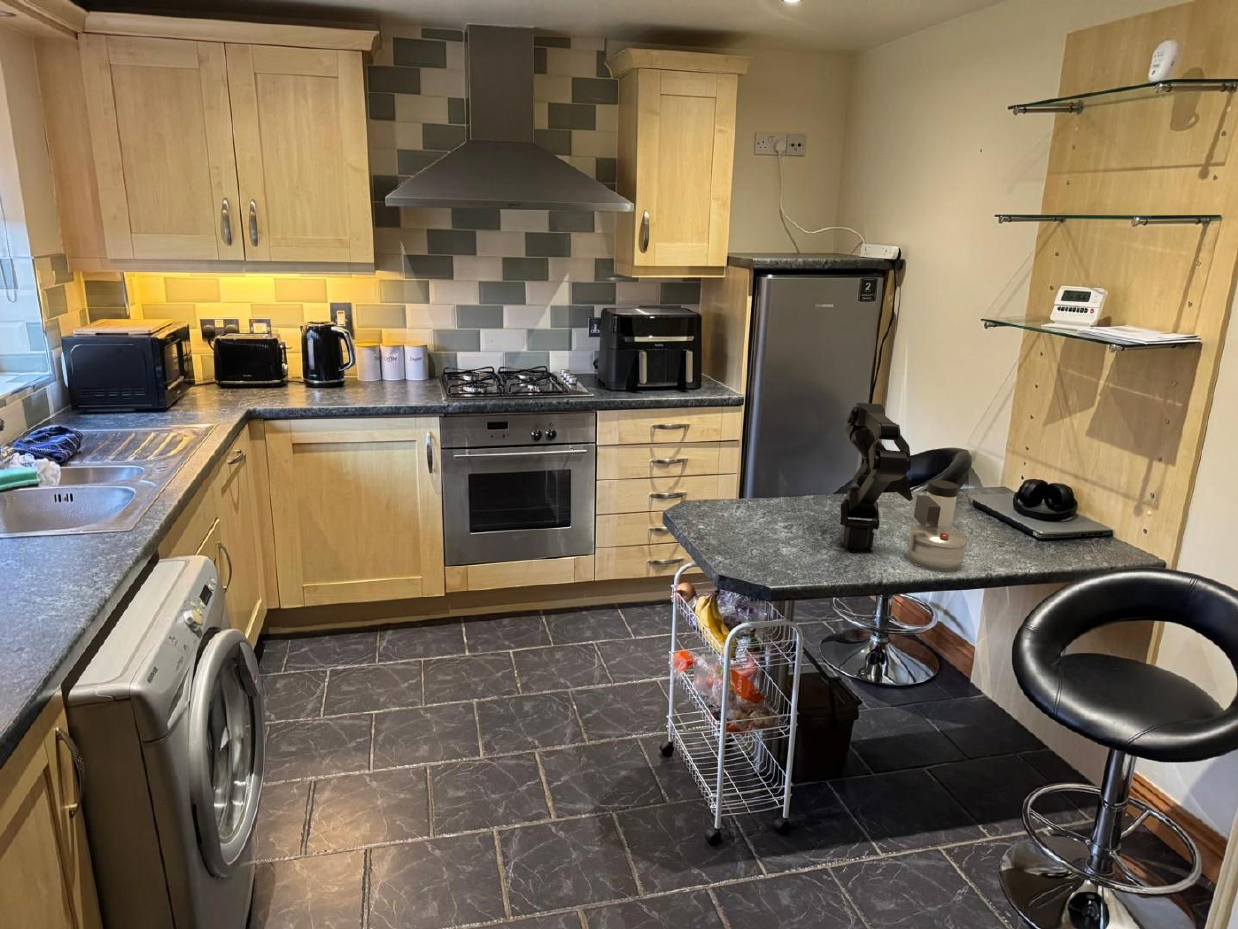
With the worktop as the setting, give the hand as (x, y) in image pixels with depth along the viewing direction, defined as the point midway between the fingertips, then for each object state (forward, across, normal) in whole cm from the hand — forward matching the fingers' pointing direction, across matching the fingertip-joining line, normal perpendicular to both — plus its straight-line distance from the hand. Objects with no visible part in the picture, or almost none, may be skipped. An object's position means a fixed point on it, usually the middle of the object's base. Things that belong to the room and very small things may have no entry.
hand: (907, 493), depth 217 cm
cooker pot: (+15, +9, -4) cm, 18 cm away
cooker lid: (+9, +8, -1) cm, 12 cm away
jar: (+20, -17, 0) cm, 27 cm away
